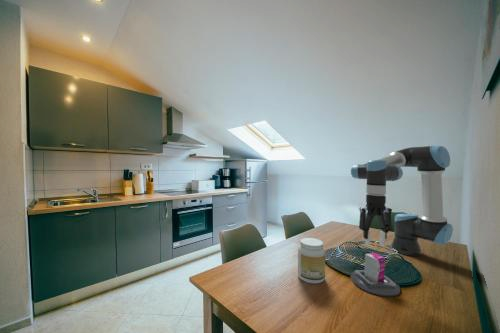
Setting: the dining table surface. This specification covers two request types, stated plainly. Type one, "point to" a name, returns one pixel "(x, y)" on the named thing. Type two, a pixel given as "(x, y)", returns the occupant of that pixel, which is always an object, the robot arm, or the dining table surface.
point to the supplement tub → (311, 260)
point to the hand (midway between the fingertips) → (374, 245)
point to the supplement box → (374, 267)
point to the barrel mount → (375, 285)
